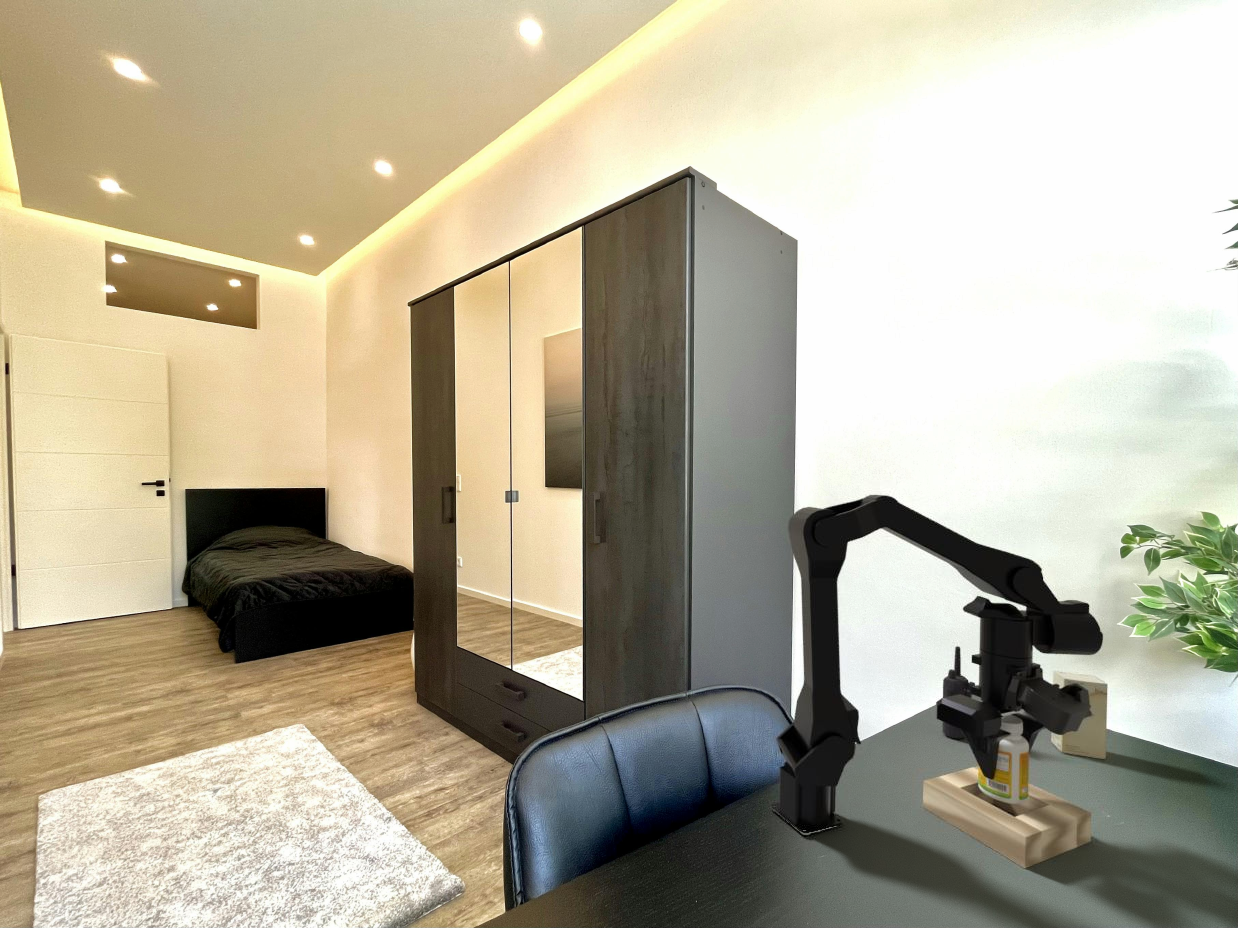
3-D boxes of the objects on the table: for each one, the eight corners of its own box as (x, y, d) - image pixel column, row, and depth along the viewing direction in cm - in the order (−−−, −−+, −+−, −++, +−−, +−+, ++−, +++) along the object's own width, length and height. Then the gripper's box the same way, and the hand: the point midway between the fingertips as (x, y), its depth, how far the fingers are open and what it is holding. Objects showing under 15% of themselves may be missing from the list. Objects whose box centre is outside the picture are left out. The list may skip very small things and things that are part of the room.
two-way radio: (951, 727, 104) (953, 642, 104) (979, 736, 100) (980, 648, 100) (938, 735, 100) (940, 647, 100) (967, 745, 97) (968, 654, 97)
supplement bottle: (1012, 784, 77) (1014, 710, 77) (1037, 807, 72) (1039, 727, 72) (969, 780, 77) (971, 707, 78) (991, 803, 72) (993, 724, 72)
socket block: (1025, 868, 66) (1025, 836, 66) (923, 807, 78) (923, 780, 78) (1090, 841, 71) (1091, 812, 71) (986, 788, 83) (986, 763, 83)
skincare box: (1061, 753, 95) (1062, 678, 95) (1050, 741, 99) (1051, 669, 99) (1108, 760, 93) (1109, 683, 93) (1094, 747, 97) (1095, 674, 97)
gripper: (1026, 681, 64) (1023, 824, 63) (1120, 663, 71) (1118, 791, 71) (934, 651, 74) (931, 775, 73) (1025, 639, 81) (1023, 751, 81)
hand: (1003, 773), depth 75 cm, fingers closed on supplement bottle, 5 cm apart
